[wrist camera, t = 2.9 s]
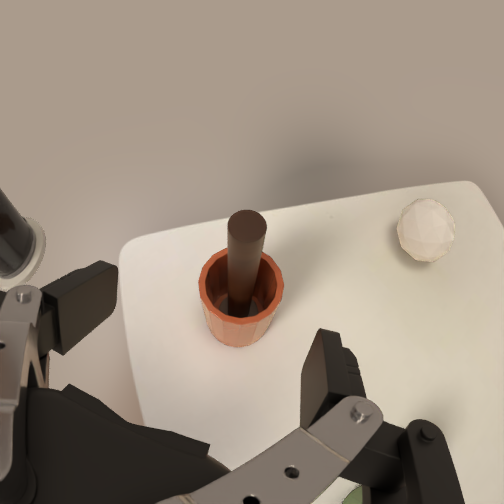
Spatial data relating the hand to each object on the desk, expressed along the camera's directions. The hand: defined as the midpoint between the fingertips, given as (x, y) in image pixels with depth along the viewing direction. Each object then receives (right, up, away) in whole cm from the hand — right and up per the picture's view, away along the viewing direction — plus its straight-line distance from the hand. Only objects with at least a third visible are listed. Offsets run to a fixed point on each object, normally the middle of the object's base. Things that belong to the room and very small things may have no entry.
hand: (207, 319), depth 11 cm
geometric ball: (+23, +3, +25) cm, 34 cm away
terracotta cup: (0, -4, +19) cm, 19 cm away
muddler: (0, -4, +18) cm, 19 cm away
